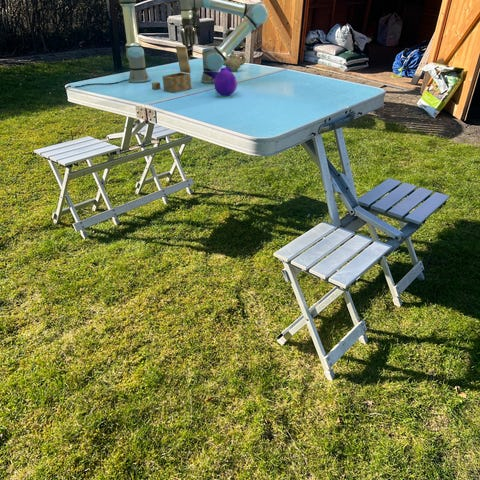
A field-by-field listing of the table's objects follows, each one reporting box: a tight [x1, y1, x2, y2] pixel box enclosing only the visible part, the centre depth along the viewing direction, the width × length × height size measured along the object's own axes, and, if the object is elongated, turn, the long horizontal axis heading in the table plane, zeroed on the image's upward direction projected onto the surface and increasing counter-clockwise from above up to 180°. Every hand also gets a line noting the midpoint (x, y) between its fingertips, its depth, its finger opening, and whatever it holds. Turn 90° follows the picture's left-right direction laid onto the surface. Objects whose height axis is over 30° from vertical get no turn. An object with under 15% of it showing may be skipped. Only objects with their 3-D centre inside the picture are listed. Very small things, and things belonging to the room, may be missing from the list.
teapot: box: [223, 50, 246, 72], centre depth 364 cm, size 21×12×15 cm, turn 120°
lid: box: [175, 45, 194, 74], centre depth 308 cm, size 17×10×8 cm
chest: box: [162, 72, 192, 93], centre depth 308 cm, size 16×10×10 cm, turn 136°
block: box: [151, 81, 162, 91], centre depth 314 cm, size 4×4×4 cm
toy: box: [202, 66, 238, 97], centre depth 293 cm, size 16×18×27 cm
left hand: (196, 35), depth 349 cm, fingers open, 13 cm apart
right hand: (189, 55), depth 308 cm, fingers closed on lid, 2 cm apart
